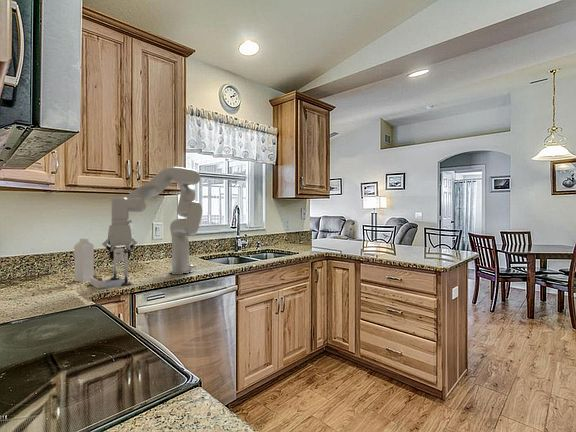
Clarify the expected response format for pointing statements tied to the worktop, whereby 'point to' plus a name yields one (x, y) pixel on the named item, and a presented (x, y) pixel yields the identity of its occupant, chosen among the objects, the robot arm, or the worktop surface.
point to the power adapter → (118, 254)
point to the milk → (83, 260)
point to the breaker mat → (111, 283)
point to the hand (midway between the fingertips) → (119, 258)
